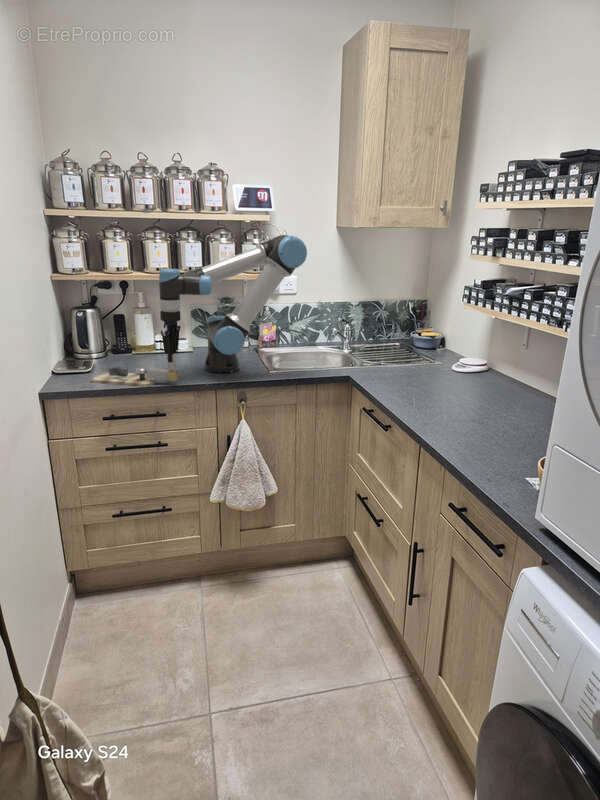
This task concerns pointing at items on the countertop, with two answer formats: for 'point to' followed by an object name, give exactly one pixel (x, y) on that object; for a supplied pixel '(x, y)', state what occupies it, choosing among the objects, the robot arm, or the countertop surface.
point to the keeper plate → (114, 376)
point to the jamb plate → (140, 381)
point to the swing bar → (158, 373)
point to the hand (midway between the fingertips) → (171, 369)
